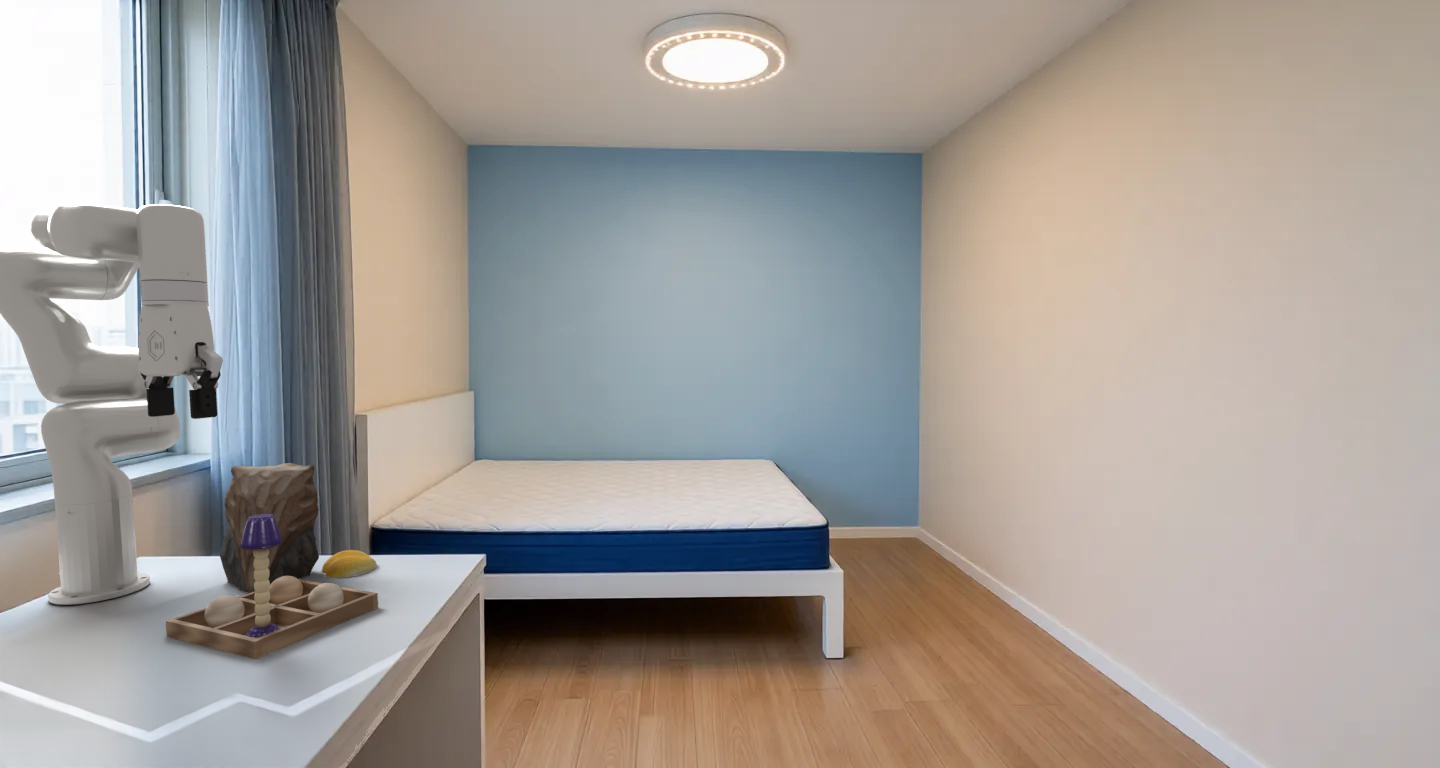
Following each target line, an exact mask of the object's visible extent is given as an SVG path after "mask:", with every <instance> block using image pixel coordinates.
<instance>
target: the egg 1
mask: <svg viewBox="0 0 1440 768" xmlns="http://www.w3.org/2000/svg"><path fill="white" fill-rule="evenodd" d="M238 597H239V596H236V595H235V596H234V595H230V594H227V595H226V594H225V595H221V596H218V597H216V598H214V599H213V600H212V601H210V602H209V604H208V605H207V606H206V607H207V608H206V607H205V608H206V610H205V616H204V617H205V621H206V623H207V624H208V625H209V626H210V627H212V628H215V627H218V626H220V625H223V624H226V623H229V622H231V621H234V620H237V619H240V618H242V617H243V615H244V612H245V607H244V604H243V602H242V601H241V600H240V599H239V598H238Z"/></svg>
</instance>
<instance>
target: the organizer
mask: <svg viewBox="0 0 1440 768" xmlns="http://www.w3.org/2000/svg"><path fill="white" fill-rule="evenodd" d="M299 580H300V582H301V583H302V586H303V593H302V596H301V597H298V598H295V599H293V600H290V601H287V602H284V603H282V604H279V605H275V604H271V603H270V601H269V603H270V612H269V614H270V616H271V621H270V623H273V624H275V625H277V626H278V627H279V628H280V629H279V630H277V631H274V632H272V633H269V634H267V635H264V636H262V637H259V638H253V637H249V636H246V634H247V632H248V631H249V630H250V629H251V628H253V627H254V626H256V624H255V618H256V613H255V605H256V603H255V600H254V596H255V593H256V592H255V591H254V592H251V593H246V594H245V593H244V594H243V595H239V596H237V597H238V598H239V599H240V600H241V601H242V602H243V604H244V607H245V612H244V615H243V617H242V618H240V619H237V620H234V621H231V622H229V623H226V624H223V625H220V626H218V627H215V628H212V627H210V626H209V625H208V624H207V623H206V621H205V617H204V616H205V610H206V608H207V606H206V607H203V608H201V609H197V610H195V611H191V612H188V613H185V614H182V615H180V616H176V617H173V618H170V619H168V620H165V632H166V633H165V634H166V637H167V638H170V639H173V640H177V641H181V642H185V643H189V644H193V645H197V646H202V647H205V648H209V649H214V650H218V651H220V652H225V653H230V654H233V655H237V656H241V657H245V658H249V659H253V660H257V659H260V658H262V657H264V656H267V655H270V654H272V653H273V652H276V651H279V650H281V649H284V648H285V647H288V646H291V645H293V644H295V643H298V642H300V641H302V640H306V639H307V638H309V637H312V636H314V635H315V636H316V635H317V634H319V633H321V632H323V631H326V630H328V629H332V628H333V627H334V628H335V627H337V626H338V625H341V624H343V623H345V622H347V621H350V620H352V619H355V618H357V617H360V616H362V615H364V614H366V613H369V612H371V611H373V610H376V609H378V608H379V597H378V596H379V595H378V592H373V591H368V590H362V589H357V588H351V587H346V586H345V587H344V586H339V585H338V586H339V587H340V588H341V589H342V591H343V594H344V600H343V603H342V605H340V606H338V607H335V608H333V609H330V610H328V611H325V612H323V613H315V612H312V611H311V610H310V608H309V606H308V597H309V595H310V593H311V591H312V590H313V589H314V588H315V587H317V586H318V585H320V584H323V583H322V582H318V581H317V582H316V581H312V580H310V581H309V580H304V579H299Z"/></svg>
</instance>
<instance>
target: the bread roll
mask: <svg viewBox="0 0 1440 768" xmlns="http://www.w3.org/2000/svg"><path fill="white" fill-rule="evenodd" d="M376 567H377V561H376V560H375V559H374V558H372V557H371V556H370V555H369V554H367V553H365V552H363V551H361V550H356V549H355V550H354V549H348V550H346V549H345V550H342V551H339V552H336V553H335V554H333V555H331V556H330V557H329V558H328V559H327V560H326V561H325V562H324V563H323V565H322V569H321V572H322V573H323V574H324V575H325V578H328V579H339V578H353V577H356V576H360V575H363V574H366V573H369V572H372V570H374V569H376Z"/></svg>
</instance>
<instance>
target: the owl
mask: <svg viewBox="0 0 1440 768" xmlns="http://www.w3.org/2000/svg"><path fill="white" fill-rule="evenodd" d="M230 472H231V474H232V479H231V482H230V485H229V489H228V491H226V494H225V498H224V502H223V503H224V509H225V510H224V515H225V518H226V521H227V524H228V526H227V528H226V530H225V534H224V537H223V541H222V546H221V547H220V551H219V557H220V561H221V564H222V565H221V566H222V568H223V571H224V575H225V576H226V580H227V584H231V585H233V586H234V587H236V589H239V591H241V592H243V593H246V594H248V593H251V592H254V591H255V590H254V583H255V581H256V580H255V579H254V571H255V568H254V564H253V563H254V559H255V557H254V555H253V550H245V549H242V548H241V541H242V537H243V533H244V530H245V526H246V522H247V520H248V518H249V517H250V516H254V515H260V514H272V515H273V516H274V517H275V520H276V523H277V526H278V529H279V532H280V535H281V538H282V543H281V544H280V545H278V546H275V547H271V548H269V555H268V558H269V566H268V569H269V572H270V575H269V578H268V580H269V582H270V585H271V583H272V582H273V581H274V580H276V579H277V578H279V577H282V576H293V577H295V578H297V579H300V580H302V579H303V578H308V577H309V576H310V575H311V574H312V570H313V569H314V568H315V567H314V566H315V565H316V563H317V562H318V560H319V557H320V555H319V550H318V546H317V537H316V535H315V531H314V530H315V524H316V519H317V518H318V516H319V511H320V509H319V505H318V502H319V501H318V490H317V488H316V485H315V483H314V474H315V465H314V464H309V465H303V464H296V463H293V462H288V463H284V462H283V463H280V464H278V465H266V466H251V465H236V466H232V467H231V469H230Z"/></svg>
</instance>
